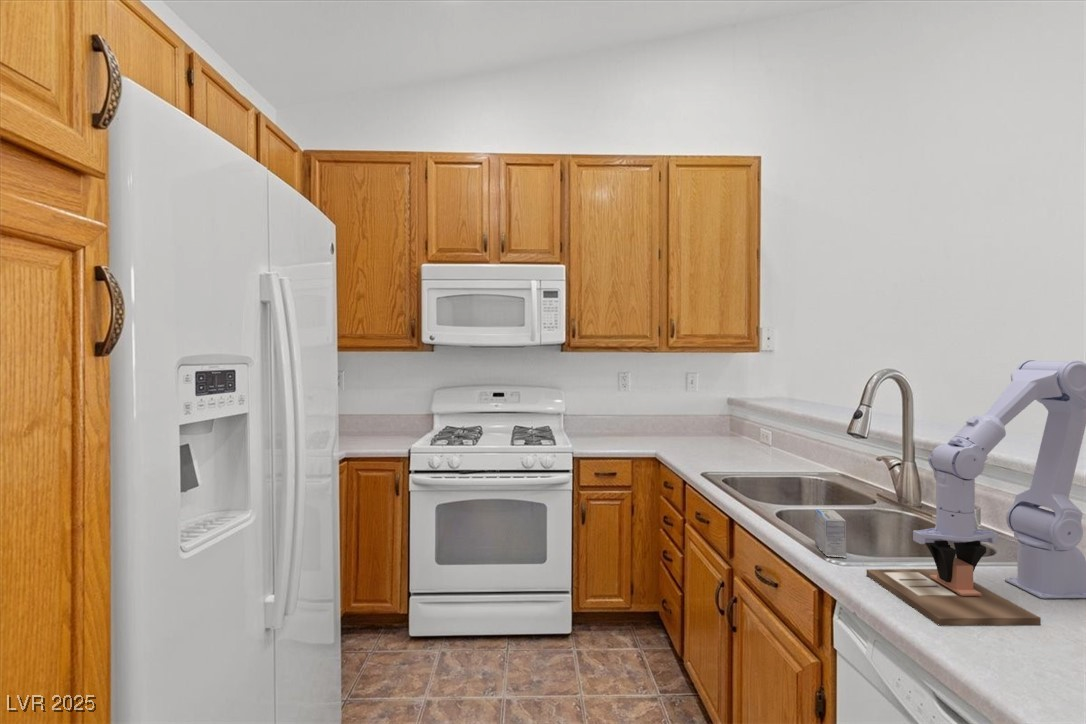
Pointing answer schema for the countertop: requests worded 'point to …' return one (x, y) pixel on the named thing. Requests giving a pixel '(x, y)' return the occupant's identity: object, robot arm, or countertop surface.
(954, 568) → the salmon block with base
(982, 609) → the ticket board
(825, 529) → the medicine box
